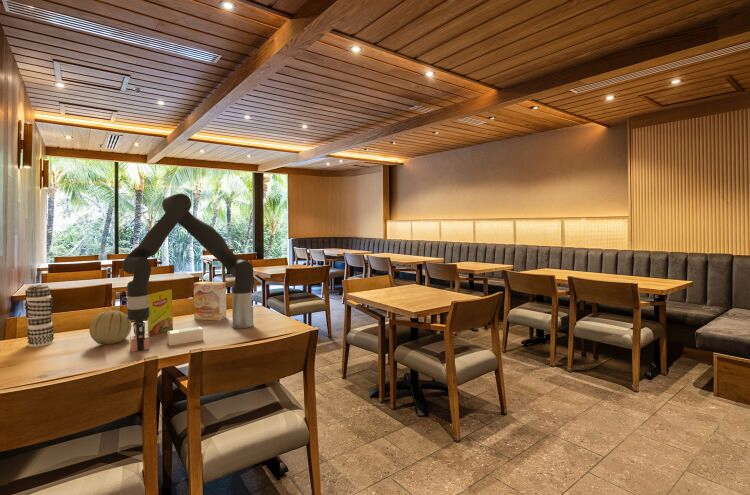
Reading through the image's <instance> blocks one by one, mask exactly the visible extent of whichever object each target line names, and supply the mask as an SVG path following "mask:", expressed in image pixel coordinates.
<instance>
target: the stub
mask: <svg viewBox="0 0 750 495" xmlns="http://www.w3.org/2000/svg"><path fill="white" fill-rule="evenodd" d="M141 337H142V335H140V336H139V338H141ZM129 338H130V340H129V341H130V351H131V353H133V352H139V351H138V350H137V341H136V339H137V336H135V335H132V336H130V337H129ZM149 349H150V337H149V336H148V333H145V340H144V350H149ZM144 350H143V351H144Z"/></svg>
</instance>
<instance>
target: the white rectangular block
mask: <svg viewBox="0 0 750 495" xmlns="http://www.w3.org/2000/svg"><path fill="white" fill-rule="evenodd" d="M166 333H167V334H166V336H167V338H166V340H167V344H168V346H174V345H181V344H187V343H192V342H198V341H204V329H203V327H201V326H191V327H187V328H186V327H185V328H181V329H173V330H172V331H167V332H166Z"/></svg>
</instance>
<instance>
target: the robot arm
mask: <svg viewBox="0 0 750 495" xmlns="http://www.w3.org/2000/svg"><path fill="white" fill-rule="evenodd" d="M161 207H162V209H163V212H165V213H164V214H163V215H162V217H161V218H159V220H158V221H157V222H156V223H155V224H154V225H153V226H152V227H151V228H150V229H149V230H148V232H147V233H146V234H145V235H144V237H143V238H142V240H141V241H140V243H139V244H138V246H136V247H134V249H133V250H132V251H131V252H129V254H127V255H126V256H125V258H124V259H123V262H122V270H123V271H124V272H125V273H126V274H129V275H133V278H132V280H129V282H127V286H126V289H127V292H126V293H127V294H126V295H127V298H126V308H127V309H126V311H127V315H128V319H129V320H131V321H133V322H132V326H133V334H134V336H137V339H136V341H137V350H138V351H137V352H139V351H144V340H145V334H146V323H145V321H144V320H145V319H148V317H149V316H150V313H149V297H148V295H149V287H148V286H149V280H150V276H151V274H152V263H151V261H150V260H149V259H148V258H151V257H154V256H155V255H156V254H157V253H158V252H159V250H160V248H161V247H162V245H163V244H164V242H165V241H166V240H167V238H168V236H169V235H170V233H171V232H172V231H173V229H174V228H175V227H176V226H177V224H179V225H180V226H181V227H182V228H183V229H185V230H186V232H188V234H189V235H191V236H192V237H193V238H194V239H195V240H196V241H197V242H198V243H199V244H200V245H201V246H202V247H203V248H204V249H205V250H206V251H207V252H208V253H210V255H212V256H213V257H214V258H215V259H217V260H218V261H219V262H220V263H221V264H222V265H223V267H224V268H225V269H226V270H227V271H228V273H229V274H230V276H232V277H234V285H233V286H232V287H231V304H232V305H231V307H232V309H231V311H232V315H231V316H232V328H233V329H247V328H250V327H251V328H252V327H253V326H254V306H253V302H252V300H253V299H252V297H253V296H252V295H253V294H252V292H253V291H252V290H253V286H254V266H253V264H252V263H251V262H250V261H248V260H245V259H241V258H239V256H237V255H236V254H234V252H232V250H231V249H230V248H229V245H228V244H227V242H226V240H225V239H224V238H223V237H222V235H221V234H220V233H219V232H218V231H217V230H216V229H215V228H214V227H212V226H211V225H210V224H207V223H206V222H204V221H202V220H200V219H198V218H197V217H195V216H194V214H192V213H191V212H190V210H191V208H192V201H191V199H190V197H189V196H188V195H187V194H184V193H181V192H180V193H173V194H171V195H170V196H167V197H165V198H164V199H163V200H162V203H161ZM140 335H142V337H141V338H139V336H140Z"/></svg>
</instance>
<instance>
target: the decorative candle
mask: <svg viewBox="0 0 750 495" xmlns="http://www.w3.org/2000/svg"><path fill="white" fill-rule="evenodd" d="M24 290H25V291H26V299H25V300H26V302H25V303H24V306H25V307H24V310H26V311H25V318H26V319H27V321H28V324H27V329H26V331H27V333H26V335H27V343H28V345H27V346H28V347H29V348H34V347H35V348H37V347H44V346H48V345H51V344H53V343H54V342H55V340H54V339H55V333H54V327H55V326H54V325H53V320H52V316H53V315H54V314H53V312H51V311H53V310H54V308H52V307H54V305H53V304H52V303H53V302H54V300H53V298H54V296H52V294H51V287H49V286H48V285H47V284H32V285H29V286H28V287H27V289H24Z"/></svg>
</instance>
